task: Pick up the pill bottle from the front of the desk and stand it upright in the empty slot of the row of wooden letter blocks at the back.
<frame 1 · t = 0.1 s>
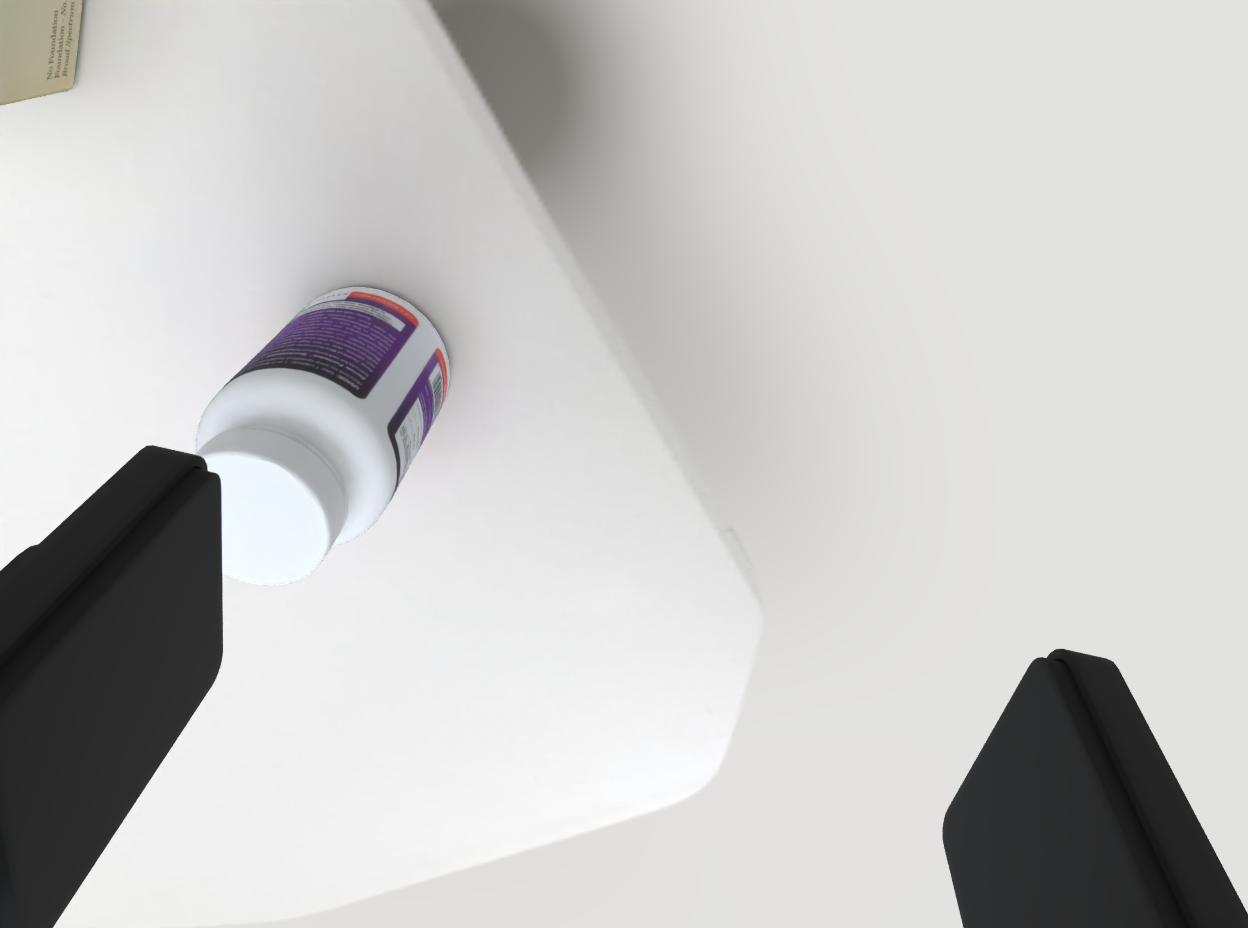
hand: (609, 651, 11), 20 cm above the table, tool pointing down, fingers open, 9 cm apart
pill bottle: (375, 358, 32), on the table
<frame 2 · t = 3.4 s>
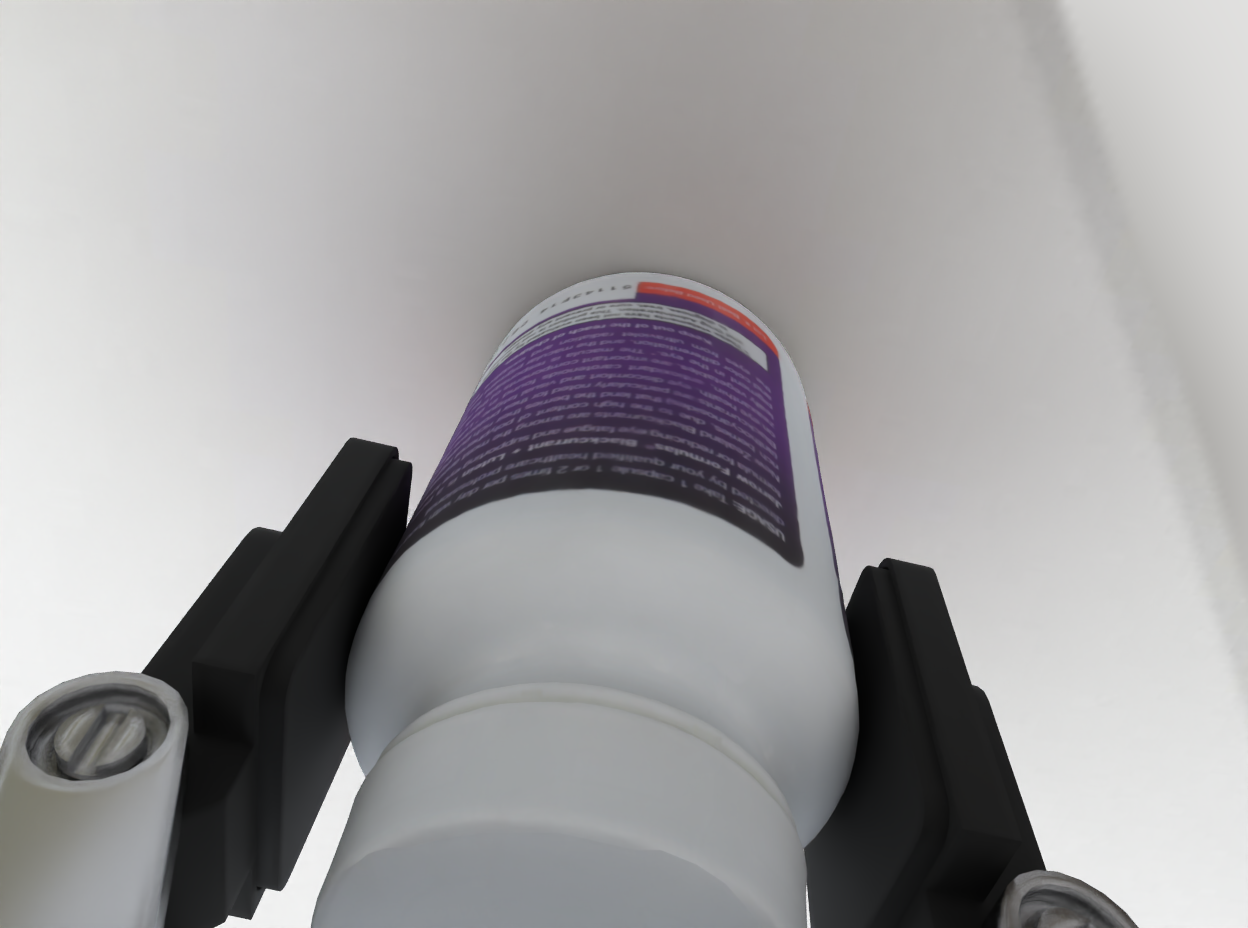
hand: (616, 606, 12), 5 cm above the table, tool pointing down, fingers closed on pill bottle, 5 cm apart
pill bottle: (644, 416, 16), on the table, touching gripper
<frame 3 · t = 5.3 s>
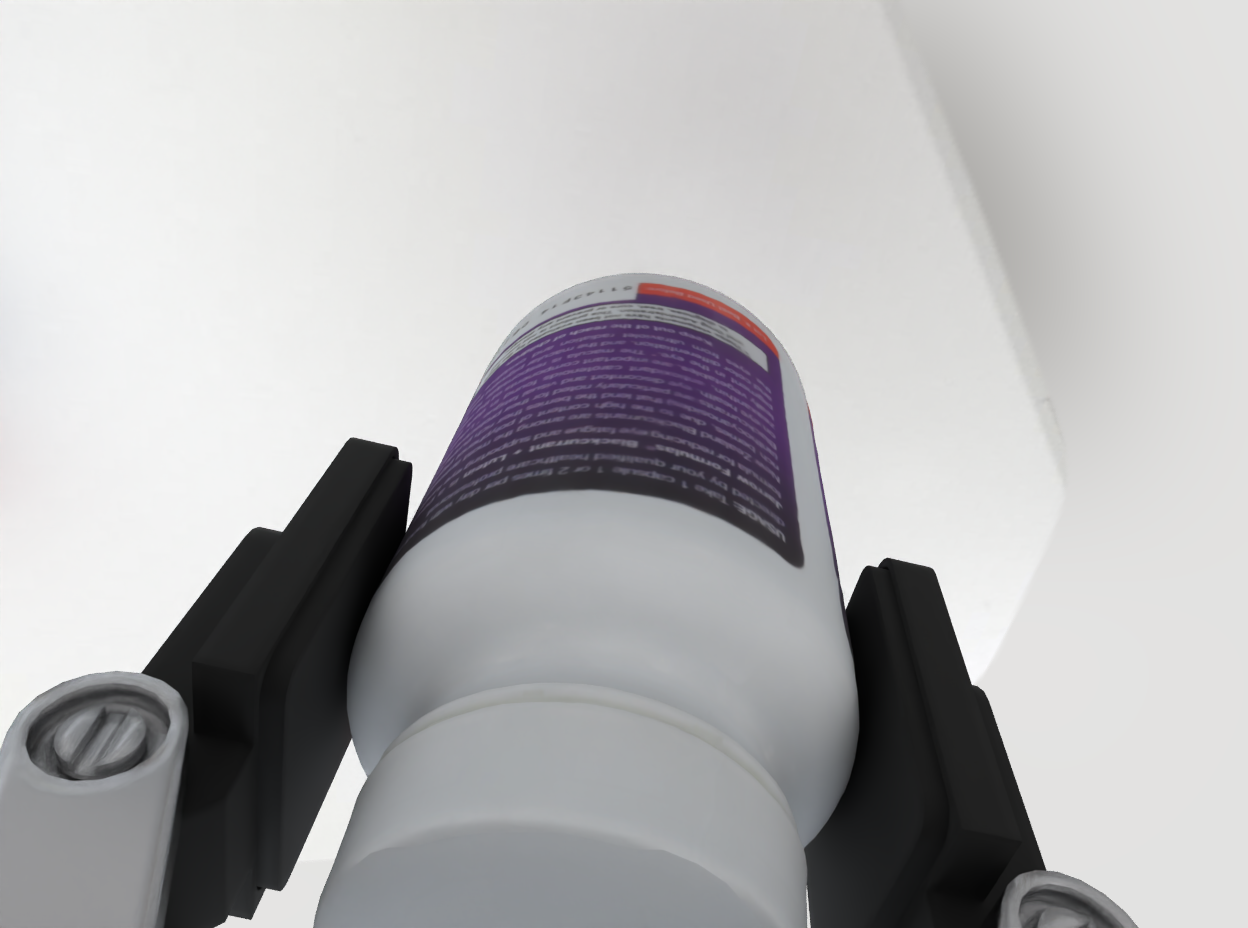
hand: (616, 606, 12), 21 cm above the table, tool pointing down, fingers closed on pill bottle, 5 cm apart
pill bottle: (645, 417, 16), point 16 cm above the table, touching gripper
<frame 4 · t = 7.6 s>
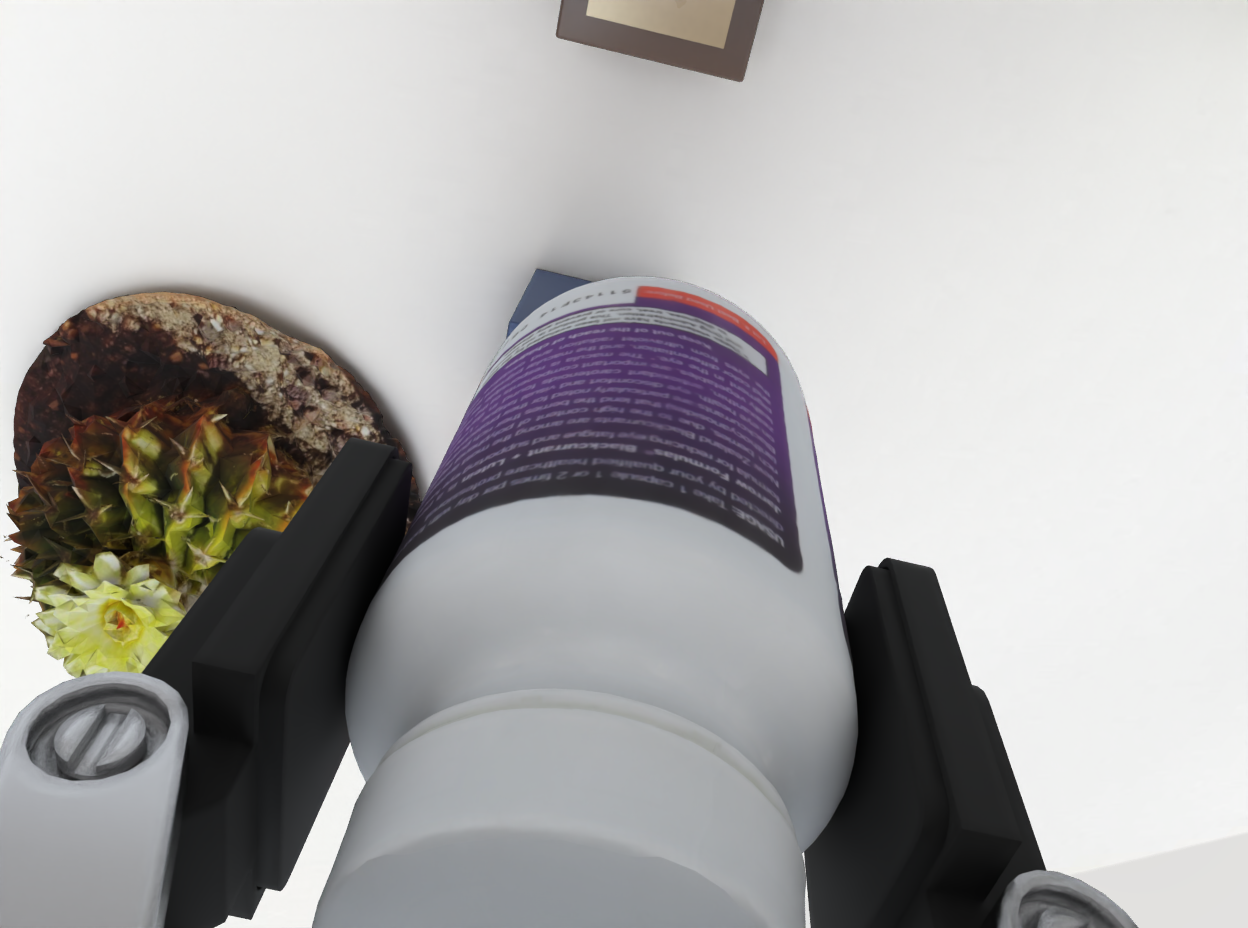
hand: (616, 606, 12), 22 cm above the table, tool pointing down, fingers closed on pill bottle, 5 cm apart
block b: (593, 349, 34), on the table
pill bottle: (644, 419, 16), point 17 cm above the table, touching gripper
cactus: (236, 485, 39), on the table
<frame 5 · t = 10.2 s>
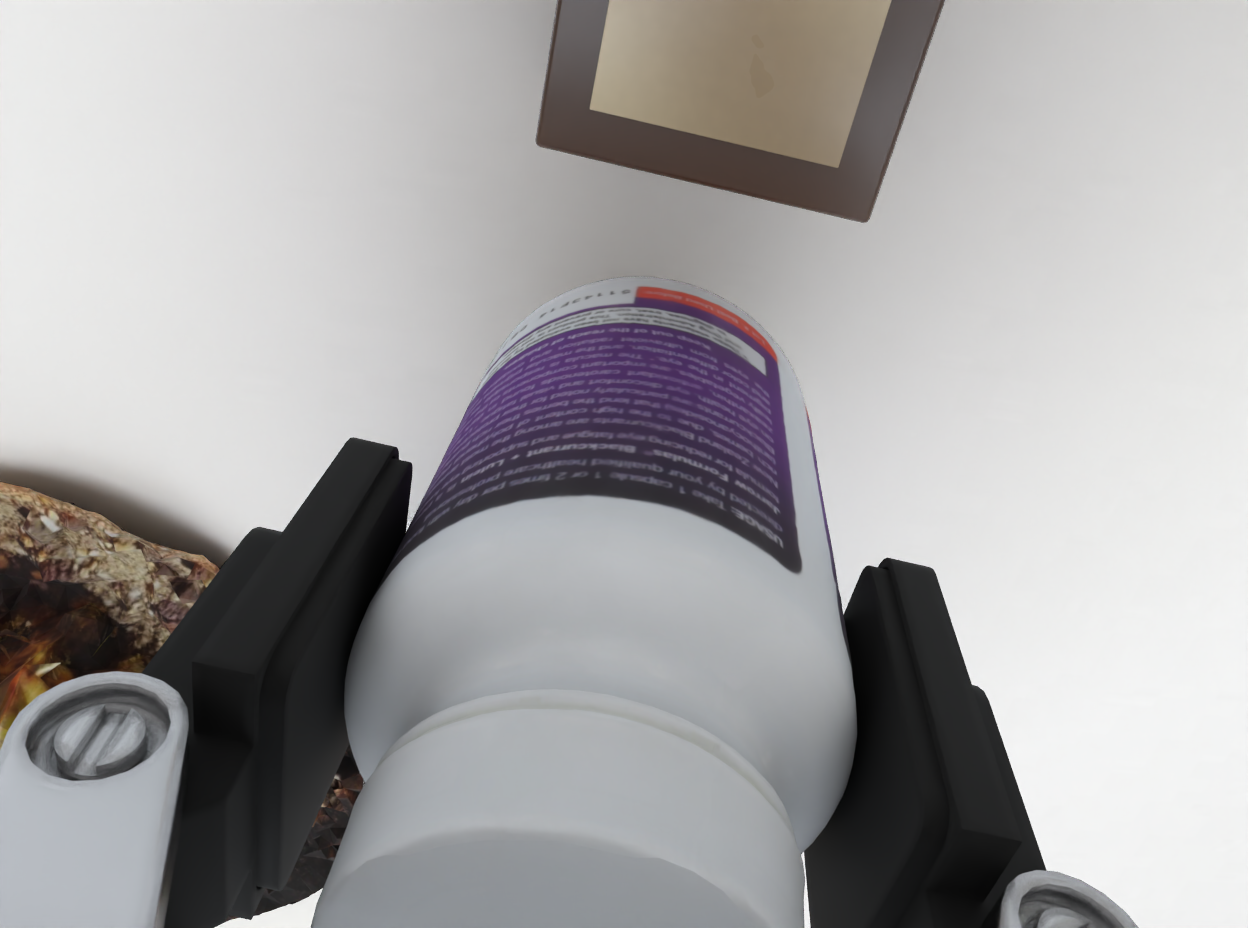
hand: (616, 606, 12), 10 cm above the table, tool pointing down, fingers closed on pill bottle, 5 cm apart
pill bottle: (643, 420, 16), point 5 cm above the table, touching gripper
cactus: (106, 713, 28), on the table
when the fingers open (5 cm above the table, at t = 11.9 s): pill bottle stays where it is, on the table.
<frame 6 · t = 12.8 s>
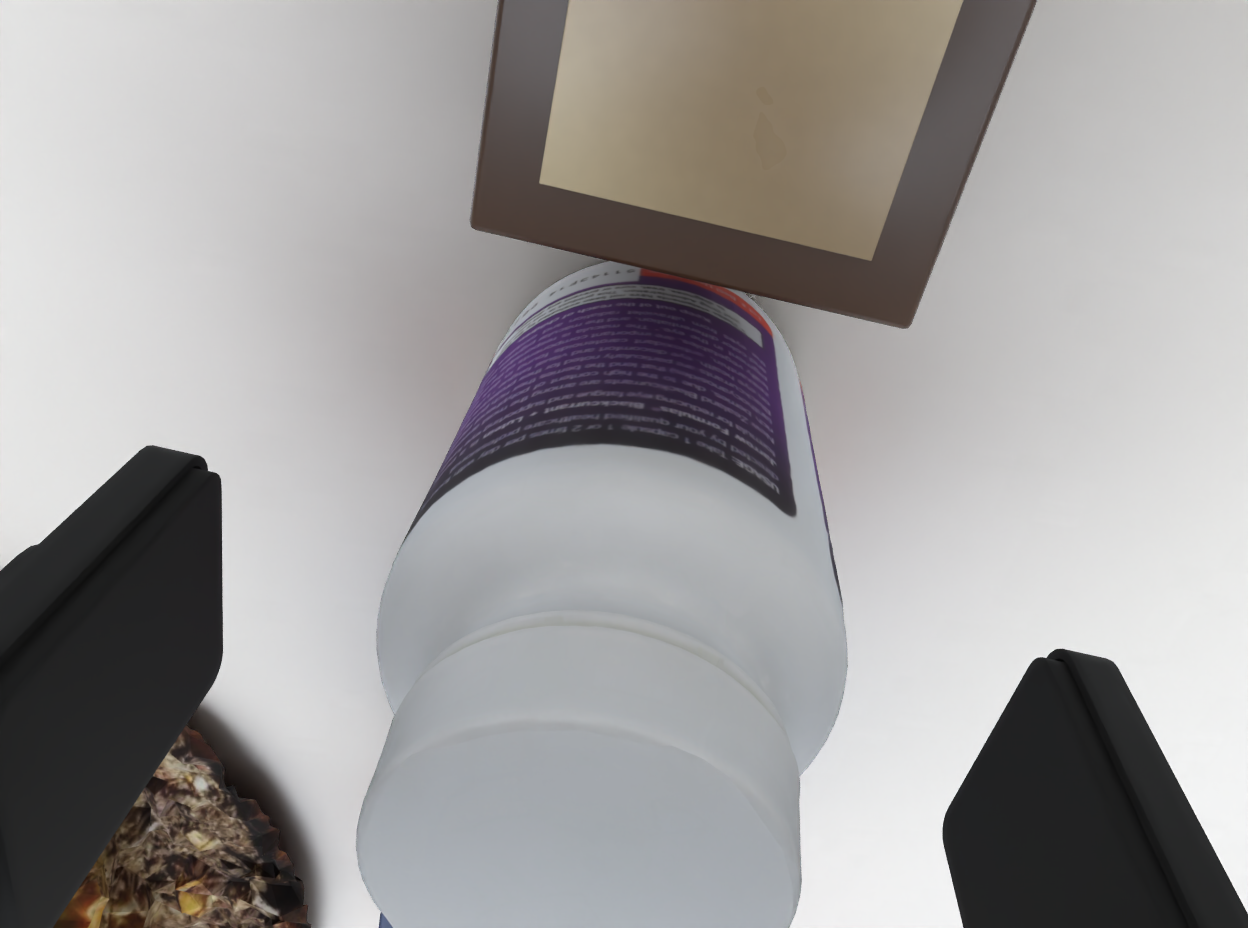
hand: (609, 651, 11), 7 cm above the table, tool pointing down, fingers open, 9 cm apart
block a: (740, 1, 14), on the table
pill bottle: (646, 396, 17), on the table
cactus: (16, 830, 25), on the table
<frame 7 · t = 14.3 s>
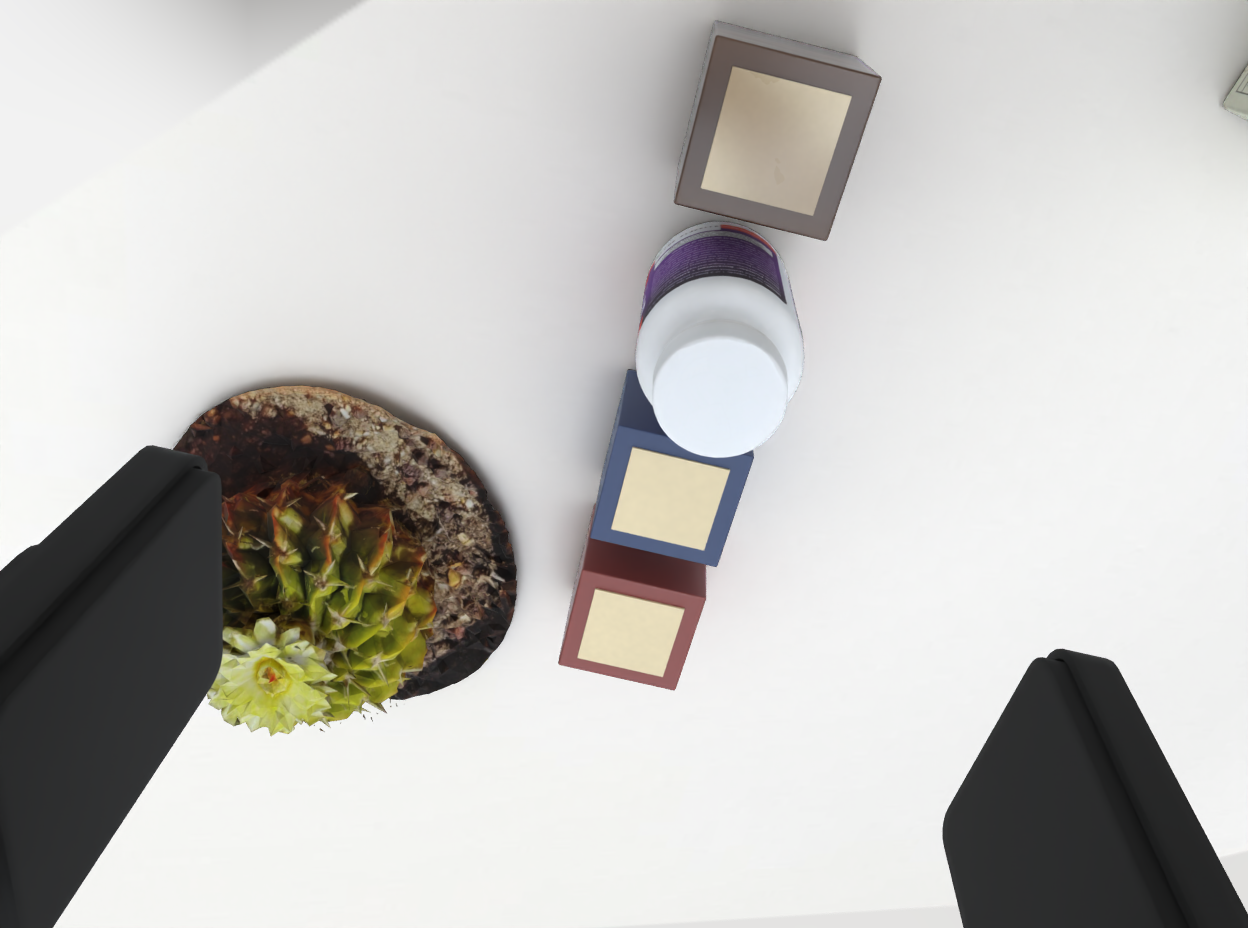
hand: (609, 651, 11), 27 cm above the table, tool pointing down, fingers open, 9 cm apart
block a: (765, 114, 33), on the table
block b: (673, 436, 40), on the table
block c: (637, 561, 43), on the table
pill bottle: (716, 287, 37), on the table
cactus: (347, 547, 44), on the table
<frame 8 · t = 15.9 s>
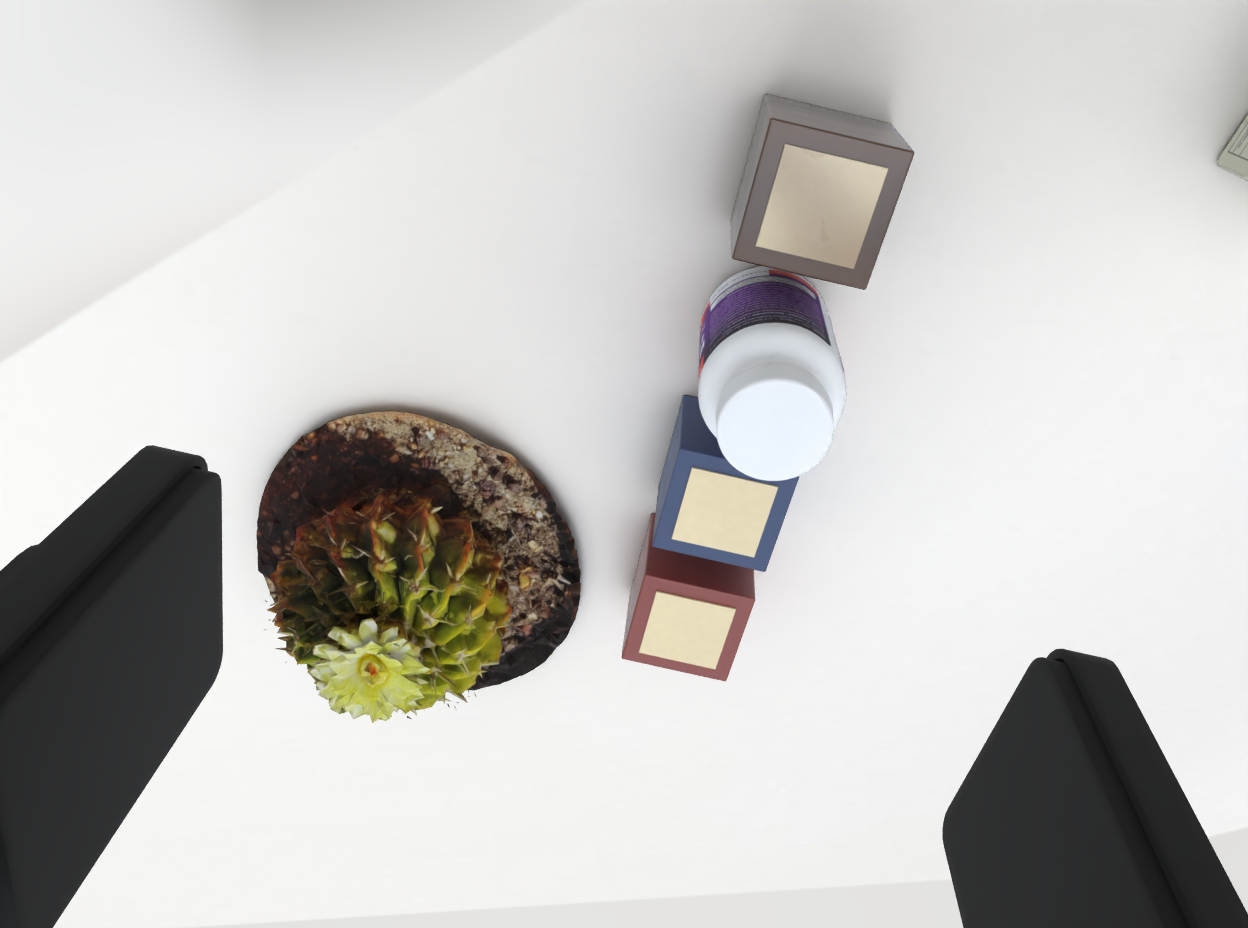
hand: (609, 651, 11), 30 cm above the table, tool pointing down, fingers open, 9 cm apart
block a: (808, 173, 38), on the table
block b: (723, 453, 44), on the table
block c: (689, 564, 47), on the table
pill bottle: (763, 323, 41), on the table
cactus: (426, 553, 49), on the table
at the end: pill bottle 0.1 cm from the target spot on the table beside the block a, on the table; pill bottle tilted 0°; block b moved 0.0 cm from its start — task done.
